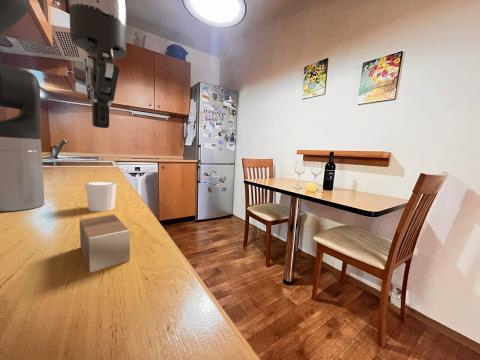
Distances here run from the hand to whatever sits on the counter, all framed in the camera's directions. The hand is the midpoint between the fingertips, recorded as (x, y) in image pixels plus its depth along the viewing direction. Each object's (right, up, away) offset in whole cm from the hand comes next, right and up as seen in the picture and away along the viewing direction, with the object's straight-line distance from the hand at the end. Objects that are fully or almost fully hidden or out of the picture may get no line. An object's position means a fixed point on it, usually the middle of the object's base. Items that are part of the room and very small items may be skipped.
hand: (100, 127), depth 35 cm
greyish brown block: (-1, -18, 0) cm, 18 cm away
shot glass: (-13, -17, +19) cm, 29 cm away
